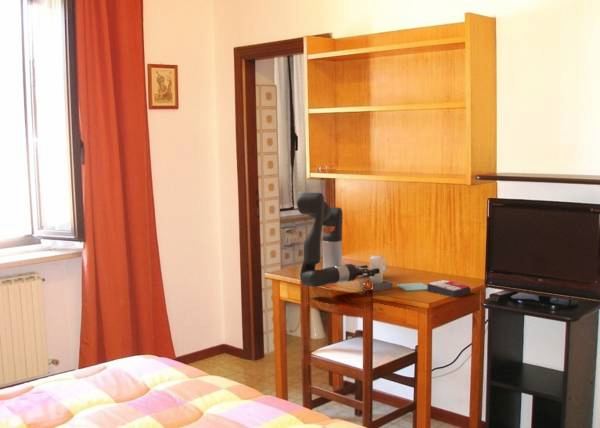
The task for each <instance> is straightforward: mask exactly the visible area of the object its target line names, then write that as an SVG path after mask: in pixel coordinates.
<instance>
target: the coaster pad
mask: <svg viewBox="0 0 600 428" xmlns="http://www.w3.org/2000/svg"><path fill="white" fill-rule="evenodd" d="M395 285H396V287H398V288H400V289H401V290H403V291H404V292H418V291H419V292H421V291H422V292H423V291H427V286H428V285H427V284H424V283H423V282H414V283H413V282H412V283H398V284H395Z"/></svg>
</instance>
